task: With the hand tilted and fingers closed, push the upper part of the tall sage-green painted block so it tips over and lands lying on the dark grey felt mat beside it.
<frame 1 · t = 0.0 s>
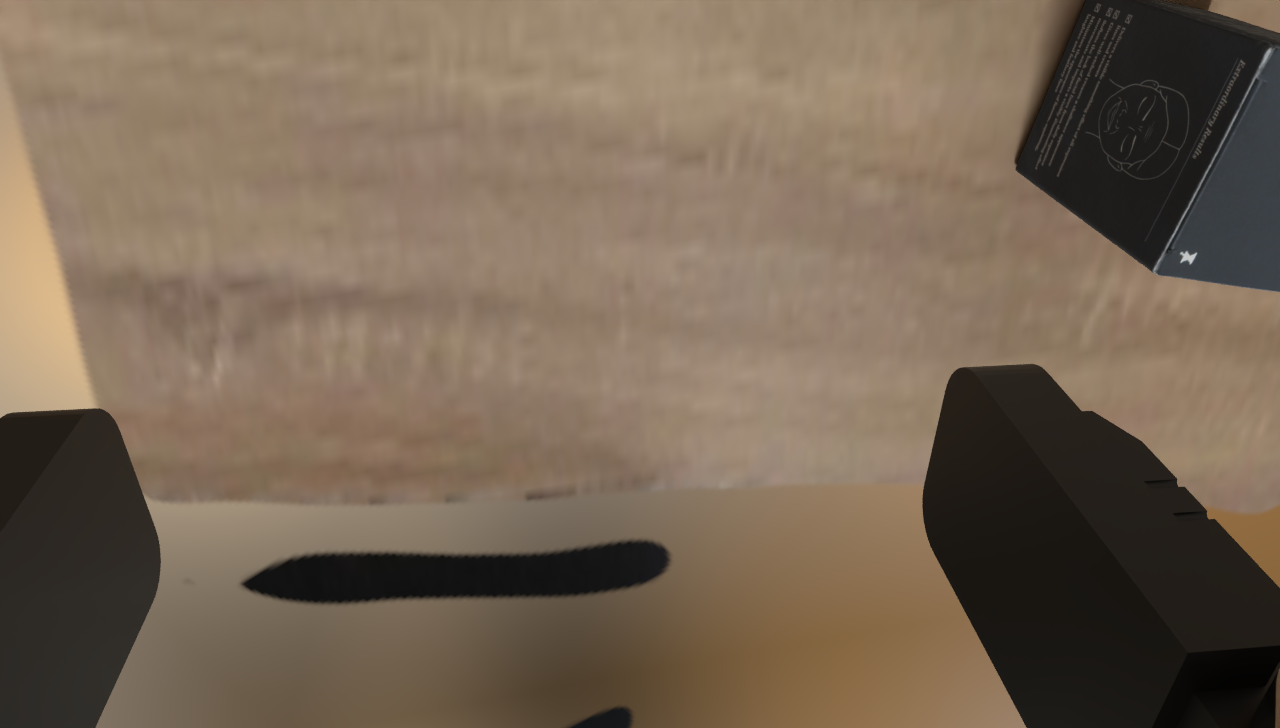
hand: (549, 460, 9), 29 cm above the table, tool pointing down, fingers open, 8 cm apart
box: (1104, 90, 39), on the table
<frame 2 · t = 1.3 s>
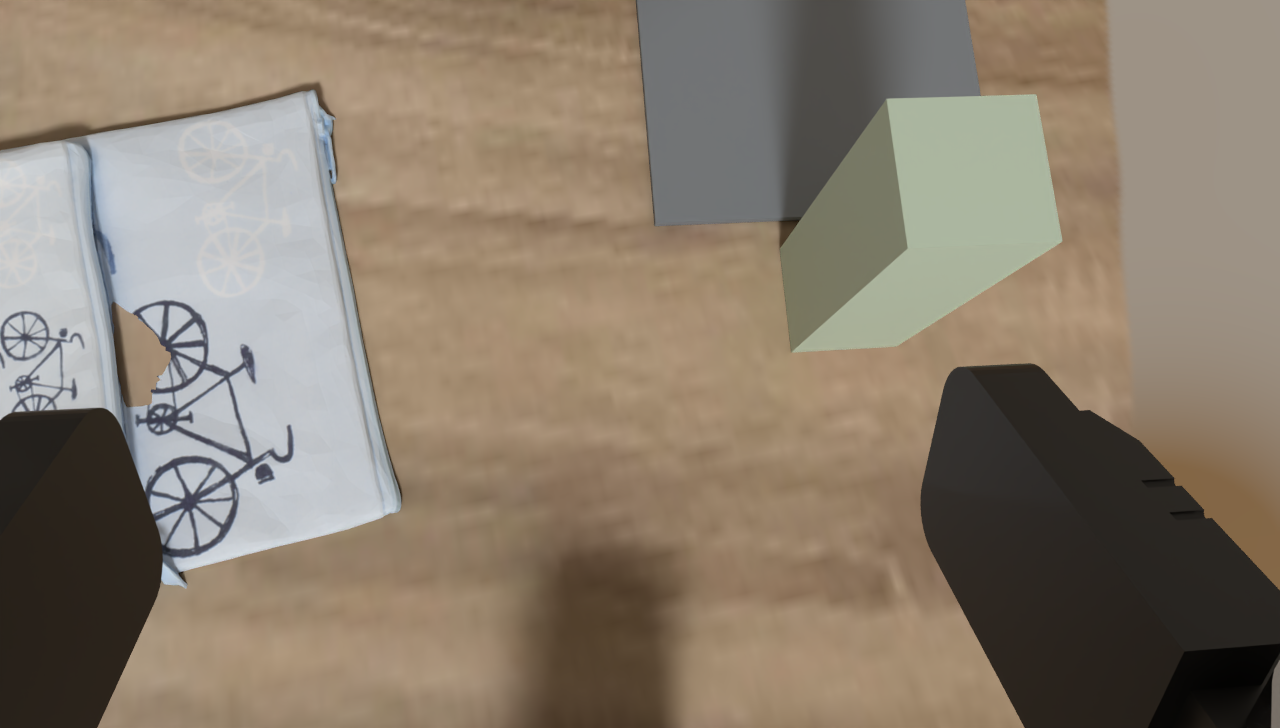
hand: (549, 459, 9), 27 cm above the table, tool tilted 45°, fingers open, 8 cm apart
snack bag: (123, 363, 36), on the table
felt mat: (809, 70, 41), on the table
green block: (837, 297, 39), on the table
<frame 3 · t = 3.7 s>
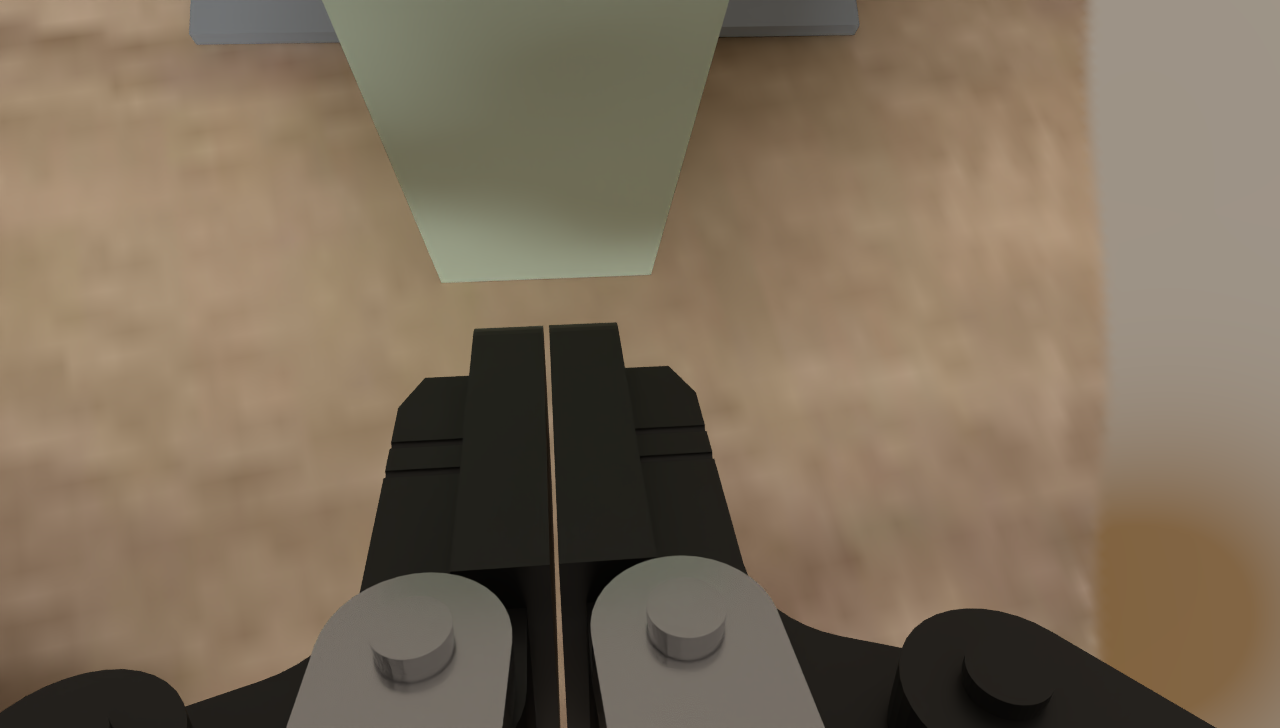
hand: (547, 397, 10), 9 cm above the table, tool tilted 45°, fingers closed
green block: (542, 181, 20), on the table
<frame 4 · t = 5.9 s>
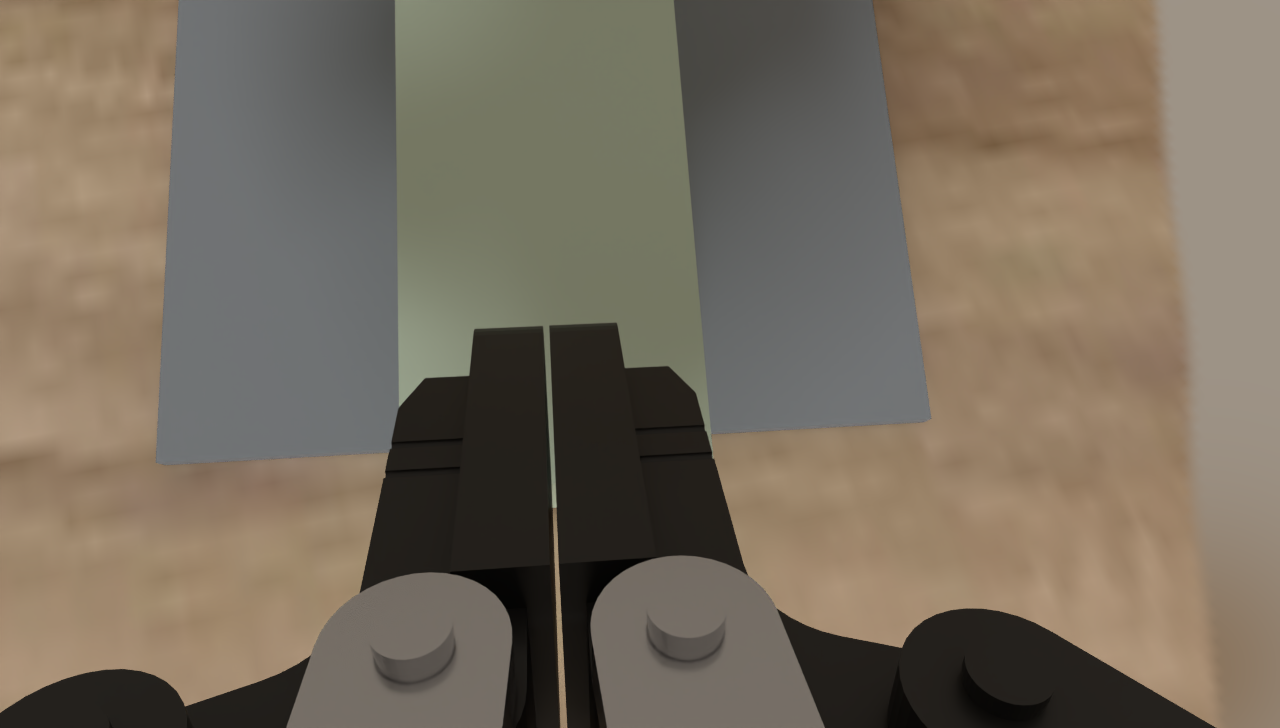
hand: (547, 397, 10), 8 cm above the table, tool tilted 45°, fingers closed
felt mat: (542, 120, 20), on the table
green block: (560, 497, 15), point 3 cm above the table, tilted 90°, touching felt mat
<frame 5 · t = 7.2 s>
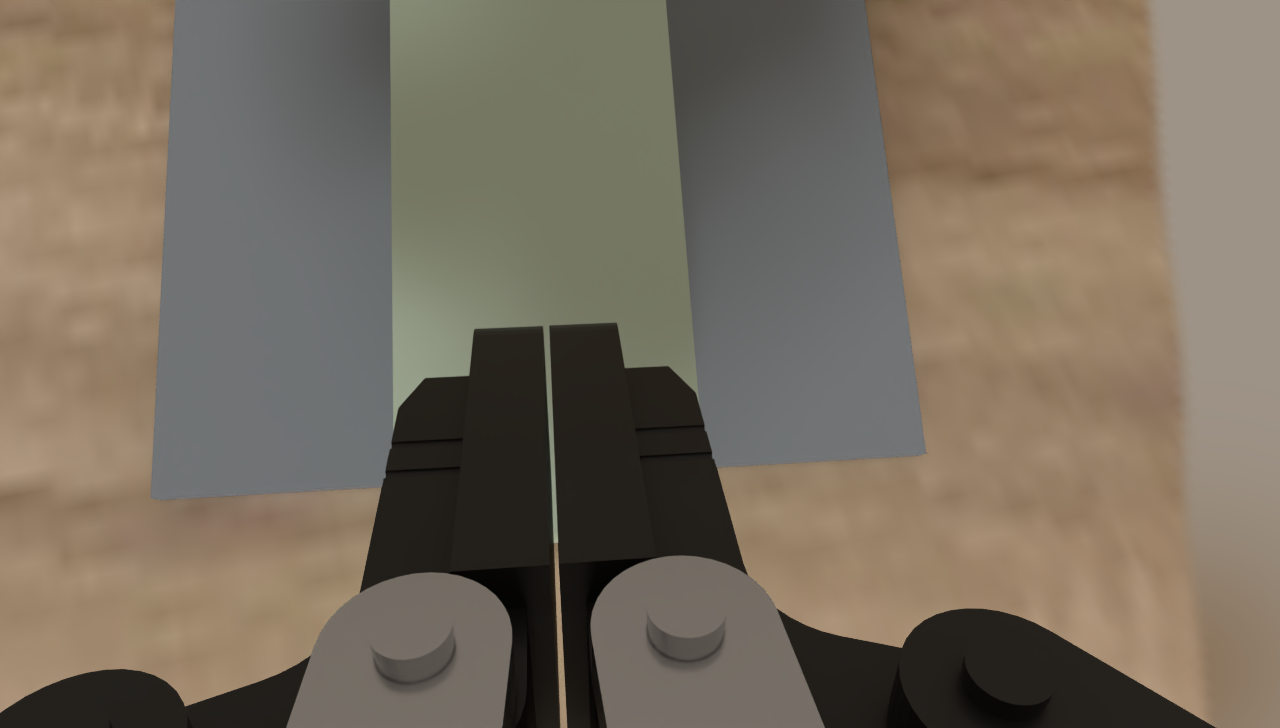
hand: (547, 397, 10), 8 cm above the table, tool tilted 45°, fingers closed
felt mat: (538, 151, 20), on the table
green block: (555, 538, 15), point 3 cm above the table, tilted 90°, touching felt mat
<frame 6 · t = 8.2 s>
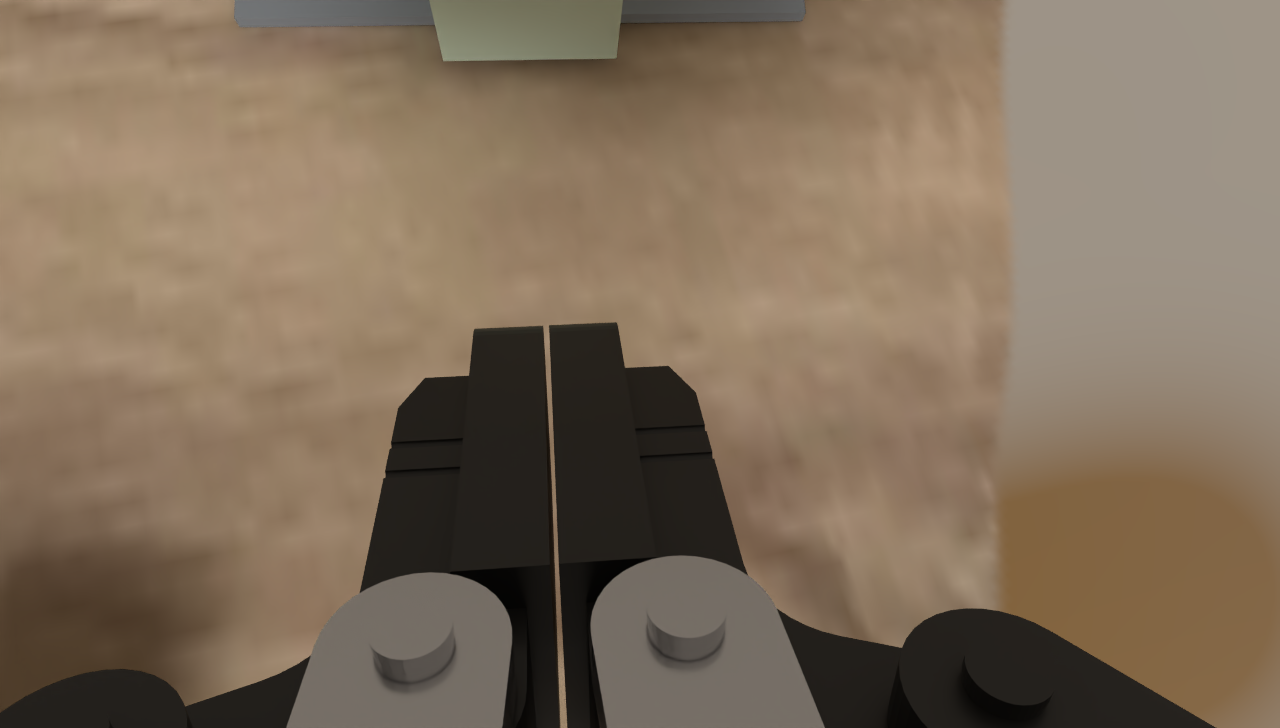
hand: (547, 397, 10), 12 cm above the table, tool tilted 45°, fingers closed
green block: (527, 8, 22), point 3 cm above the table, tilted 90°, touching felt mat
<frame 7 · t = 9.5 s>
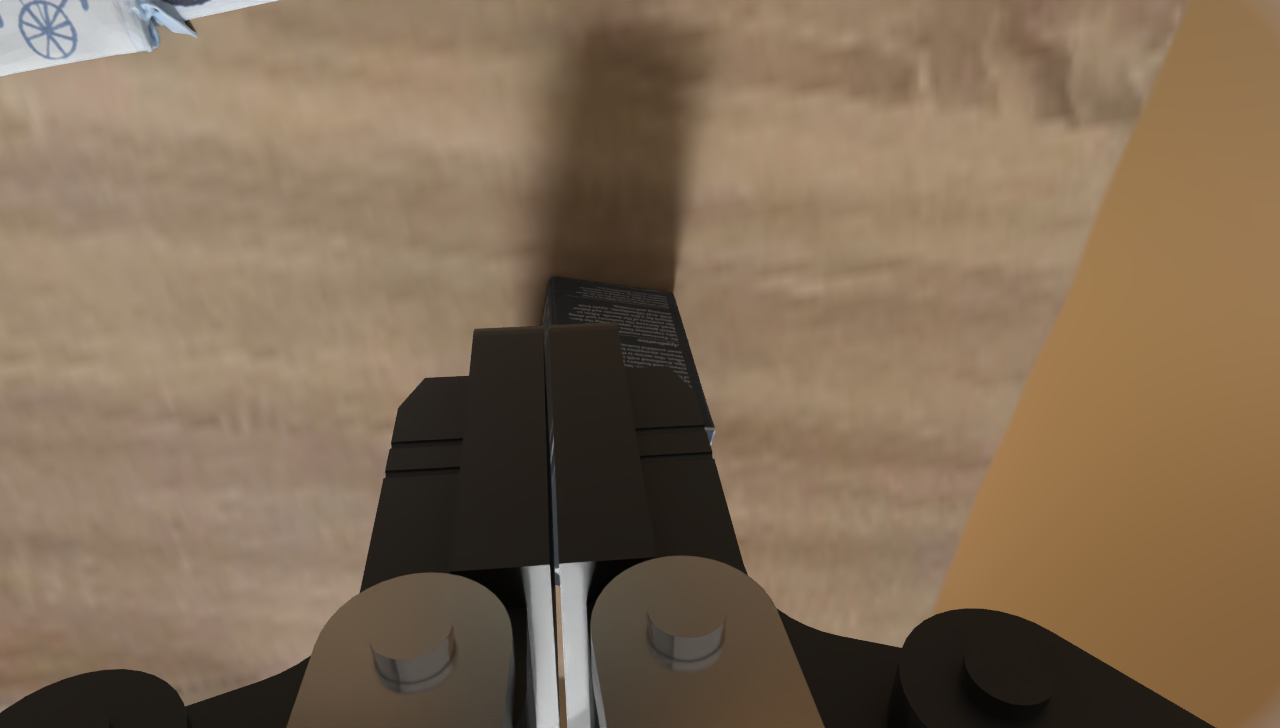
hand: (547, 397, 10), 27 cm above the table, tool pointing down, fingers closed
box: (597, 355, 41), on the table
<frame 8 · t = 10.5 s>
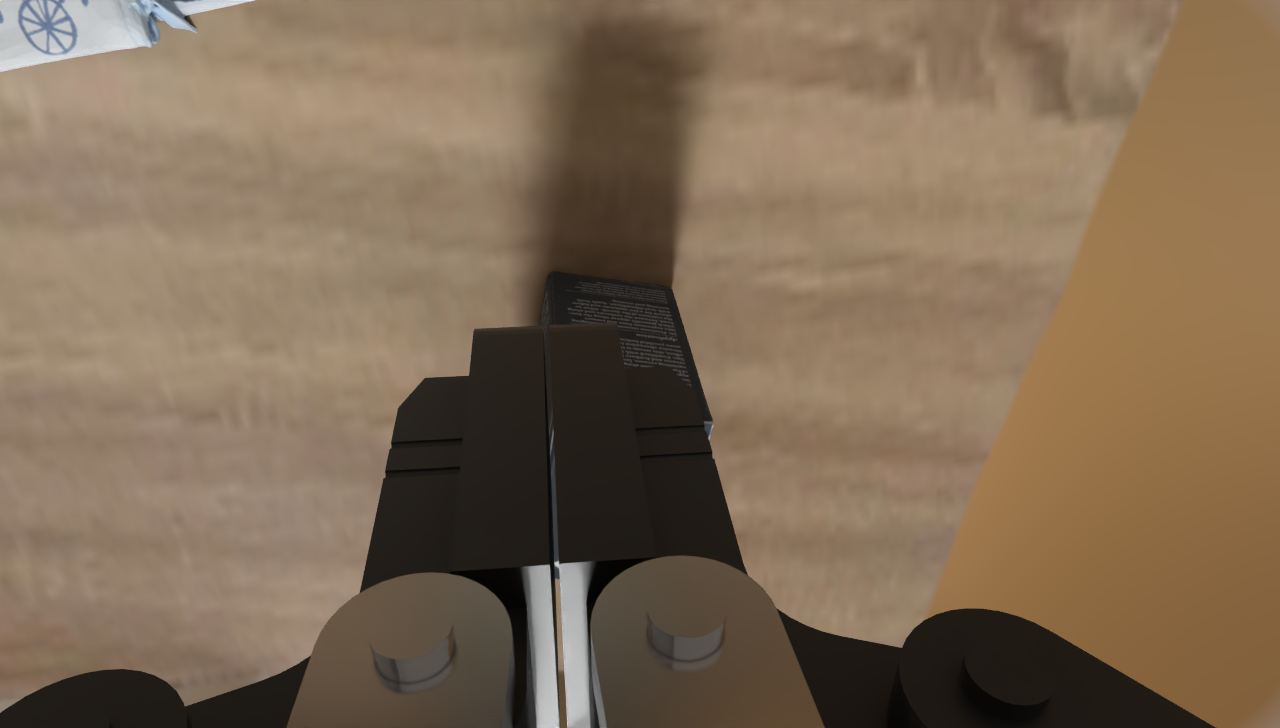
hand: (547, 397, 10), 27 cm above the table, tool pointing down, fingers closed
box: (596, 350, 42), on the table
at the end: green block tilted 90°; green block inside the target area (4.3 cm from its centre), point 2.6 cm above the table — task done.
